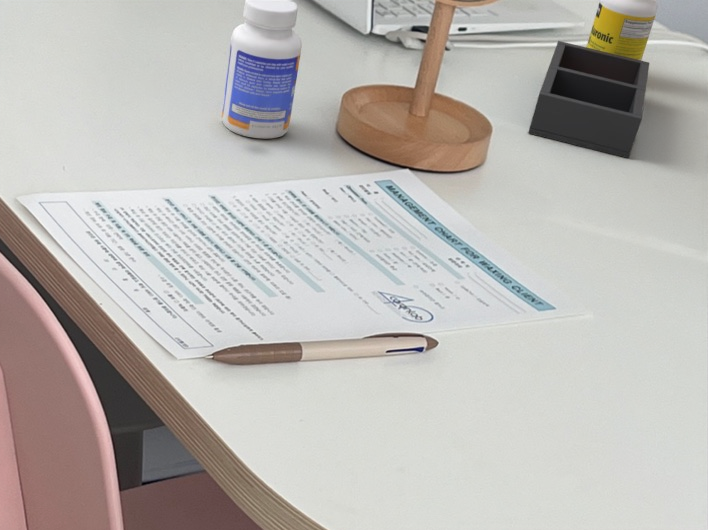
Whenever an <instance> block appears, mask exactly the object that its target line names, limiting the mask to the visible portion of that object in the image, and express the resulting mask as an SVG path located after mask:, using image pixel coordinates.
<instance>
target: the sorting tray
mask: <svg viewBox="0 0 708 530" xmlns="http://www.w3.org/2000/svg"><path fill="white" fill-rule="evenodd" d="M554 48H555V49H554V51H553V54H552V57H551V60H550V63H549V65H548V68H547V71H546V74H545V77H544V78H543V79H544V80H543V82H542V85H541V88H540V91H539V94H538V97H537V100H536V104H535V107H534V110H533V115H532V117H531V118H532V119H531V121H530V125H529V128H528V132H527V133H528V134H531V135H534V136H538V137H542V138H546V139H551V140H554V141H558V142H562V143H565V144H570V145H575V146H578V147H582V148H585V149H590V150H593V151H597V152H602V153H605V154H609V155H613V156H618V157H621V158H622V157H623V158H626V159H630V155H631V153H632V149H633V146H634V143H635V141H636V137H637V133H638V131H639V128H640V125H641V122H642V119H643V111H644V104H645V97H646V91H647V83H648V75H649V69H650V62H648V61H645V60H637V59H632V58H628V57H624V56H620V55H616V54H612V53H607V52H603V51H599V50H595V49H591V48H587V46H583V45H577V44H573V43H569V42H565V41H561V40H558V41H557V43H556V46H555V47H554Z"/></svg>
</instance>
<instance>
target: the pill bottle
mask: <svg viewBox="0 0 708 530" xmlns="http://www.w3.org/2000/svg"><path fill="white" fill-rule="evenodd" d="M298 7H299V6H298V5H297V3H296V2H294V1H293V0H244V6H243V12H242V15H243V16H242V17H243V20H244V21H245V22H243V23H241V24H240V25H238V26H236V27H235V28H234V29H233V30H232V33H231V38H230V47H229V54H228V62H227V72H226V80H225V87H224V95H223V101H222V110H221V122H222V124H223V125H224V127H225V128H227V129H228V130H229V131H231V132H233V133H234V134H237V135H240V136H243V137H248V138H253V139H261V140H262V139H264V140H265V139H266V140H267V139H268V140H269V139H276V138H280V137H282V136H284V135H285V134H287V132H288V130H289V127H290V123H291V116H292V112H293V111H292V110H293V104H294V97H295V91H296V85H297V79H298V72H299V67H300V60H301V55H302V48H303V47H302V45H303V44H302V39H301V38H300V36H299V35H298V33H297V32H296V31H294V30H293V28H295V27H296V25H297V18H298V9H299V8H298Z"/></svg>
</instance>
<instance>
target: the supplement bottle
mask: <svg viewBox="0 0 708 530" xmlns="http://www.w3.org/2000/svg"><path fill="white" fill-rule="evenodd" d="M657 13H658V3H657V1H656V0H599V3H598V5H597V9H596V14H595V15H594V20H593V23H592V27H591V30H590V34H589V36H588V40H587V44H586V47H587V48H591V49H595V50H599V51H603V52H607V53H612V54H616V55H620V56H624V57H628V58H632V59H637V60H641V61H643V56H644V53H645V50H646V48H647V43H648V41H649V37H650V34H651V31H652V27H653V25H654V22H655V20H656V16H657Z"/></svg>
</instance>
